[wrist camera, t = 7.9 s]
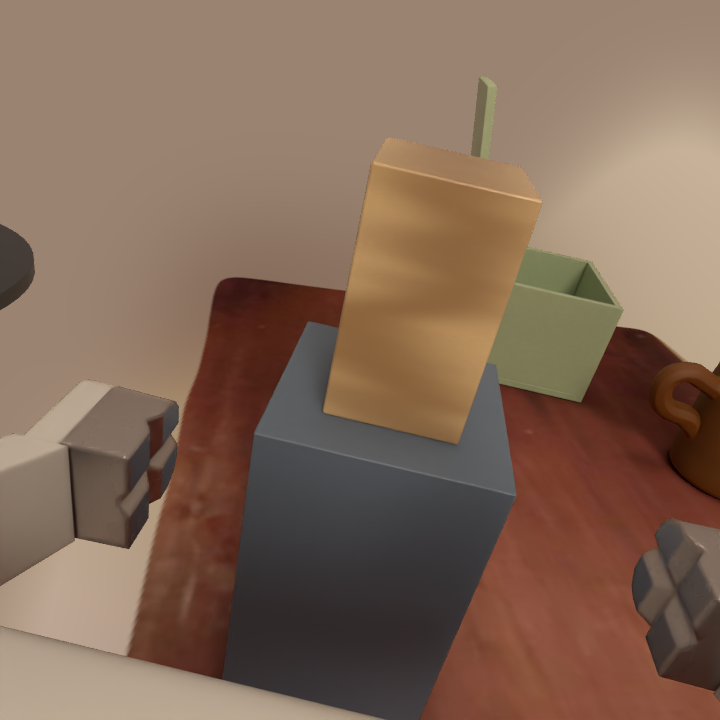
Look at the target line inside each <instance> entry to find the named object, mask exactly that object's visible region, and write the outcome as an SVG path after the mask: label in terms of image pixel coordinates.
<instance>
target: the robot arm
mask: <svg viewBox="0 0 720 720" xmlns="http://www.w3.org/2000/svg"><path fill="white" fill-rule="evenodd" d="M178 410H179V406H178V405H177V403H176V402H175V401H172V400H169V399H165V398H161V397H157V396H153V395H149V394H145V393H142V392H138V391H134V390H130V389H126V388H123V387H116V386H114V385H110V384H106V383H101V382H97V381H93V380H89V379H88V380H84V381H81V382H79V383H78V384H77V385H76V386H75V387H74V388H73V389H72V390H71V391H70V392H69V393H67V394H66V395H65V396H64V397H63V398H62V399H61V400H60V401H59V402H58V403H57V404H56V405H55V406H54V407H53V408H52V409H50V410H49V411H48V412H47V413H46V414H45V415H44V416H43V417H42V418H41V419H40V420H39V421H38V422H37V423H36V424H35V425H33V426H32V427H31V428H30V429H29V430H28V431H27V432H26V433H25V434H24V435H20V434H15V433H12V434H9V435H6V436H3V437H0V586H1V585H3V584H4V583H6V582H8V581H9V580H11V579H12V578H14V577H16V576H17V575H19V574H21V573H22V572H24V571H25V570H27V569H29V568H31V567H32V566H34V565H36V564H37V563H39V562H41V561H42V560H44V559H45V558H47V557H49V556H50V555H52V554H53V553H55V552H57V551H59V550H60V549H62V548H63V547H65V546H67V545H68V544H70V543H72V542H73V541H74V540H75V538H79V539H84V540H88V541H93V542H98V543H103V544H107V545H113V546H117V547H122V548H126V549H129V548H130V547H131V545H132V544H133V542H134V540H135V539H136V537H137V535H138V534H139V532H140V531H141V529H142V527H143V526H144V524H145V523H146V521H147V519H148V513H149V504H150V503H152V502H154V501H156V500H158V499H160V498H161V497H162V495H163V493H164V491H165V490H166V488H167V486H168V484H169V481H170V479H171V476H172V473H173V471H174V467H175V462H176V457H177V442H176V441H175V439H174V438H173V437H172V435H171V433H172V431H173V430H174V428H175V427H176V425H177V424H178V418H179V411H178ZM655 538H656V541H657V545H658V547H656V548H654V549H652V550H650V551H648V552H646V553H644V554H642V556H641V558H640V560H639V561H638V563H637V565H636V567H635V569H634V575H633V580H632V593H633V600H634V603H635V606H636V609H637V612H638V613H639V614H640V615H641V616H642V617H643V619H644V620H645V621H646V622H647V623H648V624H649V625H650V626H651V627H650V629H649V631H648V633H647V635H646V640H647V643H648V646H649V649H650V651H651V654H652V657H653V660H654V663H655V666H656V669H657V672H658V675H659V676H660V677H664V678H667V679H671V680H675V681H679V682H682V683H686V684H690V685H693V686H697V687H701V688H705V689H708V690H712V691H715V692H714V693H713V694H714V695H715V696H716V697H717V699H718V700H719V701H720V530H719V529H715V528H711V527H706V526H702V525H698V524H693V523H689V522H685V521H680V520H676V519H672V518H670V519H668V520H667V521H665V522H664V523H662V525H661V526H660V528H659V529H658V531H657V532H656V534H655ZM0 720H385V719H381V718H377V717H373V716H369V715H365V714H361V713H357V712H353V711H349V710H344V709H340V708H336V707H332V706H328V705H324V704H320V703H316V702H312V701H307V700H303V699H299V698H295V697H291V696H287V695H283V694H279V693H275V692H270V691H266V690H262V689H258V688H254V687H250V686H246V685H242V684H238V683H233V682H229V681H225V680H221V679H217V678H213V677H209V676H205V675H200V674H196V673H192V672H188V671H184V670H180V669H176V668H172V667H168V666H163V665H159V664H155V663H151V662H147V661H143V660H139V659H135V658H130V657H126V656H122V655H118V654H114V653H110V652H105V651H102V650H97V649H93V648H89V647H85V646H81V645H77V644H73V643H69V642H65V641H60V640H56V639H52V638H48V637H44V636H40V635H35V634H31V633H27V632H23V631H19V630H15V629H11V628H6V627H3V626H0Z"/></svg>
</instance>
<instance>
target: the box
mask: <svg viewBox="0 0 720 720" xmlns="http://www.w3.org/2000/svg"><path fill="white" fill-rule="evenodd" d="M623 310H624V309H623V308H622V306H621V305H620V303H619V302H618V300H617V299H616V297H615V296H614V294H613V293H612V291H611V290H610V288H609V287H608V285H607V284H606V282H605V281H604V279H603V278H602V276H601V275H600V273H599V272H598V270H597V268H596V267H595V265H594V264H593V262H591V261H587V260H582V259H578V258H574V257H570V256H565V255H560V254H556V253H552V252H548V251H543V250H539V249H535V248H530V247H527V249H526V251H525V254H524V257H523V260H522V263H521V266H520V269H519V272H518V274H517V277H516V280H515V283H514V286H513V289H512V292H511V294H510V297H509V300H508V303H507V306H506V309H505V312H504V314H503V317H502V320H501V323H500V326H499V329H498V332H497V335H496V337H495V340H494V343H493V346H492V349H491V352H490V355H489V357H488V360H487V363H490V364H494V365H496V367H497V373H498V380H499V384H503V385H508V386H512V387H516V388H520V389H525V390H529V391H533V392H538V393H542V394H546V395H550V396H555V397H559V398H563V399H568V400H572V401H576V402H580V403H581V401H582V399H583V397H584V395H585V393H586V391H587V388H588V386H589V384H590V382H591V380H592V378H593V375H594V373H595V371H596V369H597V367H598V365H599V362H600V360H601V358H602V356H603V354H604V352H605V349H606V347H607V345H608V343H609V341H610V338H611V336H612V334H613V332H614V330H615V328H616V325H617V323H618V321H619V319H620V317H621V315H622V312H623Z"/></svg>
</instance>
